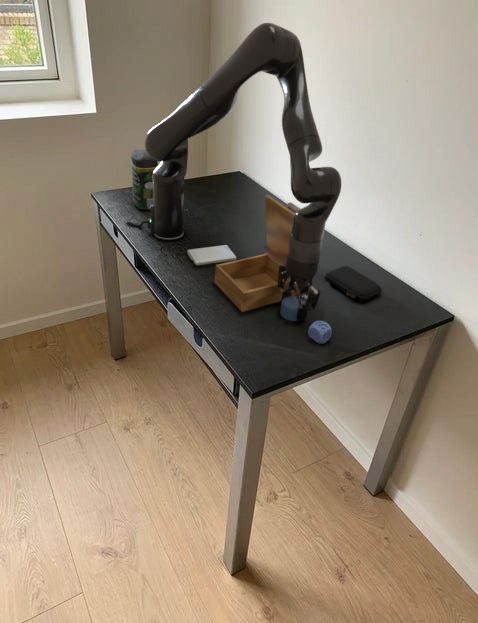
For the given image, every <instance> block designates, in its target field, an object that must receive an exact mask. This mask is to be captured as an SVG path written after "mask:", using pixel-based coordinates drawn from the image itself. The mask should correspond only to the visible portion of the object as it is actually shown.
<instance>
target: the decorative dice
mask: <svg viewBox="0 0 478 623" xmlns="http://www.w3.org/2000/svg"><path fill="white" fill-rule="evenodd" d="M307 333H308V337H310V338H311V339H312V340H313V341H315V342H316V343H318V345H323V344H326V343H327V342H328V341H329V340H330V338H331V337H332V333H333V330H332V327H331V325H330V324H329V323H328V322H326V321H325V320H316V321H314V322H312V324H311V325H310V326H309V328H308V331H307Z"/></svg>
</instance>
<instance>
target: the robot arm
mask: <svg viewBox="0 0 478 623" xmlns="http://www.w3.org/2000/svg"><path fill="white" fill-rule="evenodd" d="M302 48H303V47H302V45H301V42H300V39H299V37H298V36H297V35H296V34H295V33H294V32H293V31H291V30H289V29H287V28H285V27H282V26H280V25H278V24H275V23H272V22H263V23H260V24H259V25H258V26H256V27H255V28H253V29H252V31H251V32H250V33H249V34H247V36H246V37H245V38H244V40H243V41H242V42H241V43H240V44H239V45H238V47H237V48H236V49H235V50H234V52H233V53H232V54H231V55H230V56H229V57H228V59H226V60H225V61H224V62H223V64H222V65H221V66H219V68H218V69H217V70H215V72H213V74H212V75H210V76H209V78H207V79H206V80H205V81H204V82H202V83H201V84H200V86H198V87H197V88H196V89H195V90H194V91H193V92H192V93H191V94H190V95H189V96H188V97H187V98H186V99H185V100H184V101H183V102H182V103H181V104H180V105H179V106H178V107H177V108H176V109H175V110H174V111H173V112H172V113H171V114H170V115H169V116H167V117H166V118H164V119H163V120H162V121H161V122H160V123H158V124H156V125H154V126H153V127H152V128H151V129H149V130H148V132H147V133H146V136H145V139H144V149H146V152H147V154H148V155H149V156H150V157H151V158H152V159H153V160H156V161H158V162H160V163H158V167H157V168H156V169H155V170H154V171H153V174H152V181H153V205H152V206H151V210H150V217H149V218H148V219H147V220H143V221H141V222H140V224H137V223H134V222H131V221H129V220H127V221H126V224H127V225H129V226H133V227H136V228H141V227H143V225H144V224H147V229H150V235H151V236H153V237H155V238H156V239H157V240H161V241H167V242H170V241H171V242H172V241H177V240H180V239H181V238H183V236H184V218H185V217H184V216H185V214H184V213H185V210H184V209H185V178H186V175H187V172H188V164H189V163H188V162H189V151H190V150H189V148H190V146H189V144H190V143H189V139H191V138H192V137H194V136H196V135H198V134H201V133H203V132H205V131H206V130H209V129H210V128H212V127H213V126H215V125H217V124H218V123H219V122H220V121H222V120H223V119H224V118H226V117H227V115H228V116H229V114H230V113H231V112H232V111H233V110H234V108H235V107H236V104H237V102H238V98H239V96H240V95H239V94H240V90H241V88H242V87H243V85H244V84H245V83H246V82H248V81H249V80H250V79H251V78H252V77H254V76H256V75H257V74H258V73H261V72H263V73H266V74H268V75H272V76H274V77H276V79H277V81H278V83H279V85H280V87H281V89H282V94H283V108H282V114H281V127H282V129H281V130H282V133H283V137H284V141H285V143H286V148H287V150H288V154H289V165H290V167H289V168H290V191H291V193H292V196H293V197H294V199H296V200H297V201H298V202H299V203H301V204H308V205H305V206H304V207H302V208H300V210H298V211H297V212H296V214H295V217H294V222H293V228H292V234H291V238H290V241H289V246H288V252H287V258H286V264H284V265H282V264H281V265H280V266H279V272H278V287H279V288H280V287H281V289H282V290H281V291H282V299H281V301H280V302H281V304H282V300H283V299H284V298H285V297H288V296H291V294H292V293H291V292H290V291H292V290H294V291H295V293H296V299H297V300H298V301H299V308H298V313H297V318H296V319H297V320H298V321H297V322H300V321H304V320H306V319H307V315H308V312H309V311H312V310H315V309H316V307H317V305H318V304H317V303H318V302H319V299H320V295H321V293H322V292H321V289H320V288H317V289H316V287H314V286H313V285H314V283H313V279H314V277H315V276H316V275H317V272H318V267H319V263H320V258H321V252H322V249H323V238H324V233H325V228H326V223H327V221H328V219H329V217H330V215H331V214H332V211H333V210H334V207H335V205H336V204H337V202H338V199H339V197H340V195H341V191H342V177H341V174H340V172H339V171H338V169H336V167H333V166H320V167H319V166H318V167H311V165H310V163H311V162H313V161H315V160H316V159H318V158H319V157H320V156H321V155H322V154H323V144H322V141H321V138H320V134H319V131H318V128H317V124H316V121H315V118H314V115H313V111H312V106H311V102H310V95H309V91H308V83H307V82H308V81H307V77H306V68H305V60H304V54H303V49H302ZM283 279H284V282H282V280H283ZM303 300H304V301H305V303H304V304H303ZM281 304H280V305H281Z"/></svg>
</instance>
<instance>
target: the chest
mask: <svg viewBox="0 0 478 623" xmlns="http://www.w3.org/2000/svg"><path fill="white" fill-rule="evenodd" d="M280 265H282V264H281V263H279V262H278V261H277V260H276V259H274V258H273V257H272V256H271V255H269V254H265V253H264V254H260V255H255V256H250V257H245V258H241V259H236V260H232V261H226V262H222V263H219V264H218V263H217V264H215V271H214V284H215V285H216V286H217V287H218V288H219V289H220V290H221V291H222V293H224V295H226V297H227V298H228V299H229V300H230V301H231V302H232V303H233V304H234V305H235V306H236V307H237V308H238V310H240V311H241V312H242V313H244V312H247V311H250V310H254V309H258V308H261V307H265V306H268V305H272V304H275V303H279V302H281V299H282V291H281V290H282V289H281V287H280V288H279V287H278V272H279V266H280ZM282 282H284V279H283V280H282ZM290 292H291V293H292V294H291V296H295V297H296V293H295V291H294V290H292V291H290Z"/></svg>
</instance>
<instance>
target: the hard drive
mask: <svg viewBox="0 0 478 623" xmlns="http://www.w3.org/2000/svg"><path fill="white" fill-rule="evenodd" d="M186 251H187V252H186V253H187V255H188V257H189V259H190V260H192V261H193V263H194V265H195V266H201V265H202V266H203V265H210V264H218V263H226V262H232V261H236V260H238V258H237V255H236V254H234V252H233V251H232V250H231V248H230V247H229V246H228V245H227V244H224V245H223V244H222V245H215V246H207V247H200V248H191V249H187V250H186Z"/></svg>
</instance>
